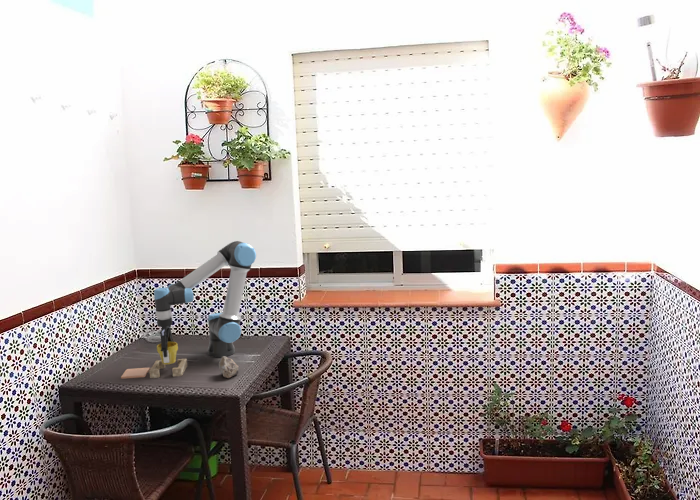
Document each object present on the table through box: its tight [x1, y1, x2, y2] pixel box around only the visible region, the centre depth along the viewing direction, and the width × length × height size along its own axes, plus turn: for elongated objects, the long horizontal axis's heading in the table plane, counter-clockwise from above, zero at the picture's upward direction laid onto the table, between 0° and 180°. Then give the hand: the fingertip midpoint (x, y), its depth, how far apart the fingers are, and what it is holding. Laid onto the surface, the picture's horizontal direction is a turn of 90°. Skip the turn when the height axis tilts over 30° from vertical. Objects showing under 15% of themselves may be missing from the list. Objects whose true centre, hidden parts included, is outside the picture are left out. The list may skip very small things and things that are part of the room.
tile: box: [120, 367, 151, 379], centre depth 342 cm, size 12×12×1 cm
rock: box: [218, 356, 240, 379], centre depth 332 cm, size 9×12×10 cm
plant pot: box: [156, 341, 179, 366], centre depth 342 cm, size 10×10×10 cm
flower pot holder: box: [148, 358, 188, 379], centre depth 343 cm, size 16×16×4 cm
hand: (168, 359), depth 343 cm, fingers closed on plant pot, 10 cm apart
